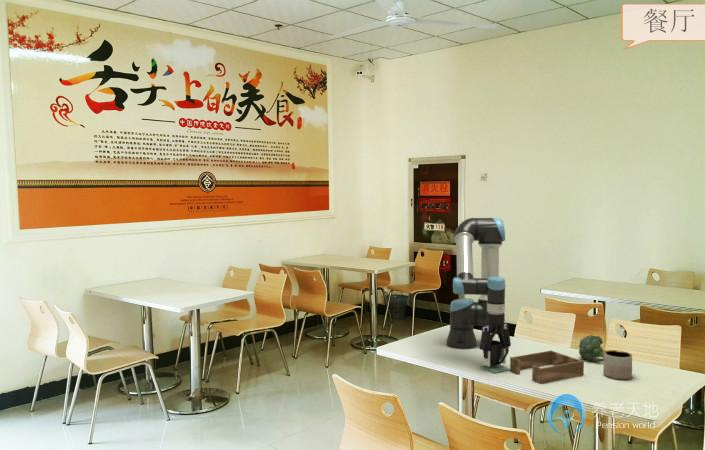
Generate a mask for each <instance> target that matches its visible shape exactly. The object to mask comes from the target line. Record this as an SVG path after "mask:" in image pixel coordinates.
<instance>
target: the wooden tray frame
mask: <svg viewBox="0 0 705 450" xmlns="http://www.w3.org/2000/svg"><path fill="white" fill-rule="evenodd" d="M509 359H510V360H509V361H510V362H509V369H510V371H509V372H511V373H514V374H516V375H521V371H523V370H530V369H531V370H532V372H531V373H532V374H531V376H532V377H531V378H532V379H531V380H532V381H533V382H535V383H538V384H541V385H542V384H546V383H552V382H557V381H562V380H568V379H572V378H577V377H581V376H585V375H584V371H585V369H584V368H585V365H584V364H585V361H584V360H581V359H578V358H575V357H572V356H569V355H566V354H563V353H560V352H556V351H553V350H547V351H541V352H534V353H530V354H523V355H518V356H511V357H510V358H509ZM545 366H547V367H545Z"/></svg>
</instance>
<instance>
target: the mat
mask: <svg viewBox="0 0 705 450" xmlns="http://www.w3.org/2000/svg"><path fill="white" fill-rule="evenodd" d="M479 367H480V369H482V370H485V371H487V372H490V373H491V374H498V373H499V374H500V373H504V372H511V371H510V368H507V367H505V366H504V365H502V364H500V365H496V366H491V365H490V366H486V365H485V364H484V365H480V366H479Z"/></svg>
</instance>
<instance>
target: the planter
mask: <svg viewBox="0 0 705 450" xmlns="http://www.w3.org/2000/svg"><path fill="white" fill-rule="evenodd" d="M602 369H603V371H602V372H603V375H604V376H605V377H607V378H609V379H613V380H617V379H618V380H619V381H625V380H626V381H627V380H631V378H632V377H633V355H632V353H629V352H627V351H622V350H614V349H612V350H606V351H605V352H604V359H603V368H602Z"/></svg>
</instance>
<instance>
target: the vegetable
mask: <svg viewBox="0 0 705 450" xmlns="http://www.w3.org/2000/svg"><path fill="white" fill-rule="evenodd" d="M602 344H604V341H603V339H602V338H601V336H599V335H593V334H590V335H588V336H584V337H583V338H582V339H580V342H579V345H578V346H579V350H578V354H579V355H580V356H581V358H583V359H586V360H587V361H589V362H590V361H591V360H593V359H596V358H603V360H604V352H605V351H607V350H606V349H603V347H602V346H601V345H602Z"/></svg>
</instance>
